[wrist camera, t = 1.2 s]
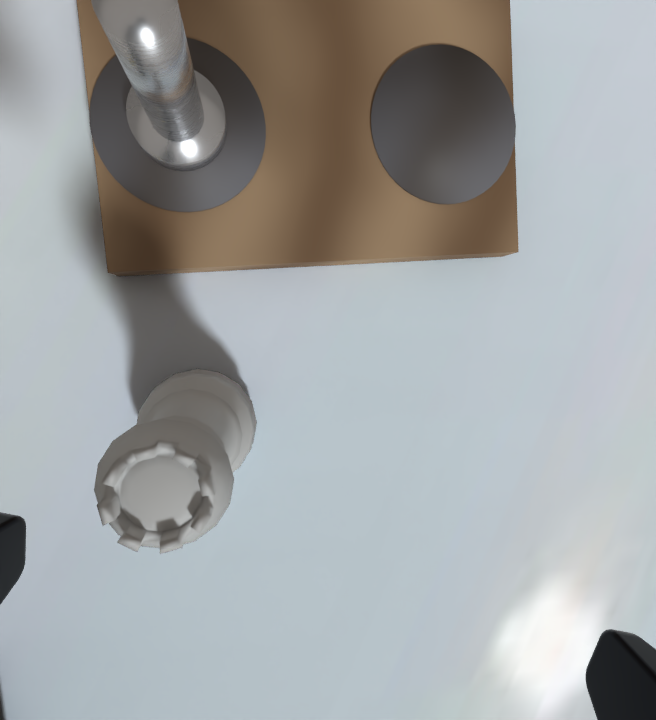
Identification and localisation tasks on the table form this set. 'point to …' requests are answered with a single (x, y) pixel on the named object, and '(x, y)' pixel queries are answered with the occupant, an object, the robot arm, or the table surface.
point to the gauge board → (319, 138)
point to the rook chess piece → (176, 461)
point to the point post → (164, 84)
